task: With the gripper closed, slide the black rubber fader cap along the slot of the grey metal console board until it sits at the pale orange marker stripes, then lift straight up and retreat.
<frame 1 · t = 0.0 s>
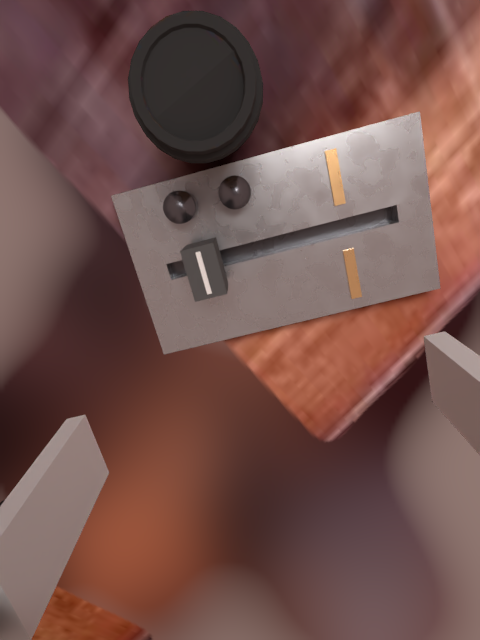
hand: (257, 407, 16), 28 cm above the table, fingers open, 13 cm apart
coffee cup: (211, 123, 39), on the table
console: (278, 240, 42), on the table
fader: (207, 265, 38), point 5 cm above the table, slide at -7.0 cm
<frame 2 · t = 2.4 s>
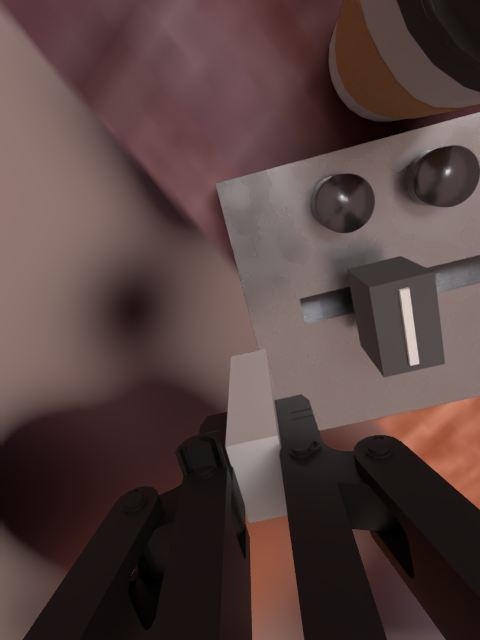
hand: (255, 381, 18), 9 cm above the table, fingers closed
coffee cup: (385, 58, 22), on the table
console: (473, 257, 26), on the table
fader: (383, 305, 22), point 5 cm above the table, slide at -7.0 cm
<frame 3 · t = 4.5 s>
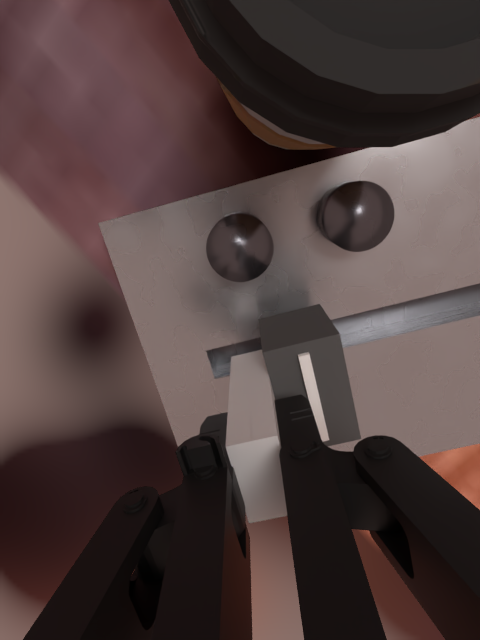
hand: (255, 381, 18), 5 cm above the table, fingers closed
coffee cup: (295, 78, 20), on the table
console: (410, 298, 23), on the table
fader: (301, 361, 19), point 5 cm above the table, slide at -6.6 cm, touching gripper
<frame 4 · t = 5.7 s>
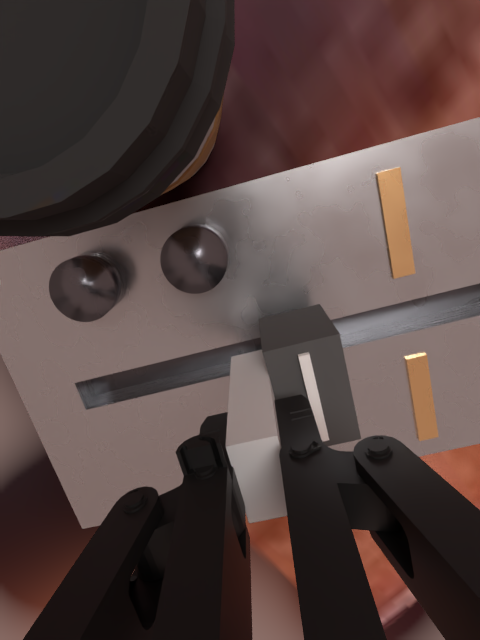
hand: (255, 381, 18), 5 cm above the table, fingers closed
coffee cup: (153, 120, 20), on the table
console: (283, 329, 23), on the table
fader: (301, 361, 19), point 5 cm above the table, slide at 0.4 cm, touching gripper
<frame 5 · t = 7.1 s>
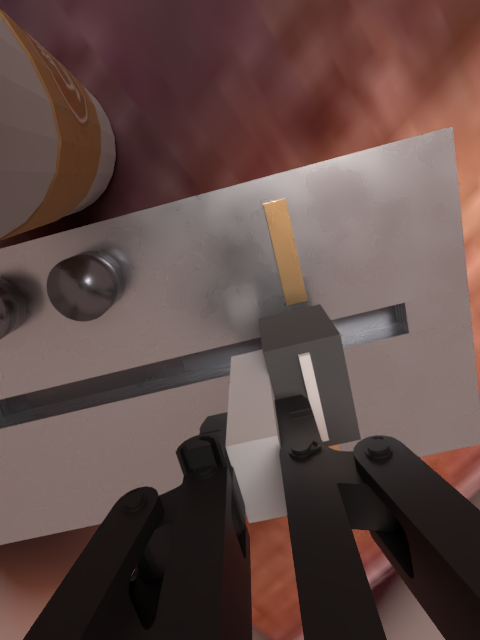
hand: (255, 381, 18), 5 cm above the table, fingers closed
coffee cup: (55, 147, 21), on the table
console: (194, 351, 24), on the table
fader: (301, 361, 19), point 5 cm above the table, slide at 5.5 cm, touching gripper
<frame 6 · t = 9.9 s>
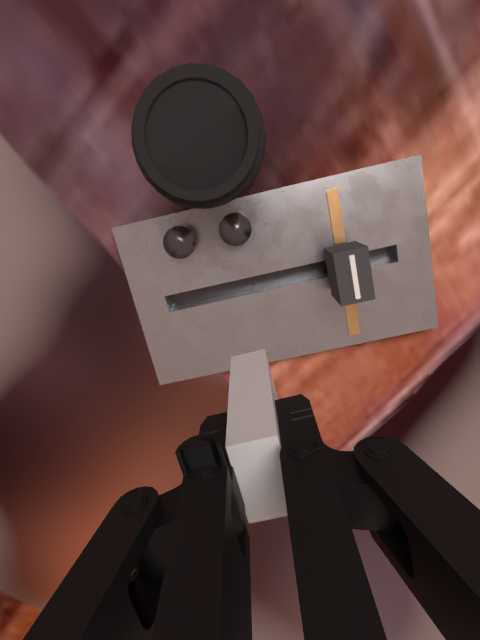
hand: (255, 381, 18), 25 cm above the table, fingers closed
coffee cup: (213, 158, 39), on the table
console: (277, 274, 42), on the table
fader: (344, 269, 37), point 5 cm above the table, slide at 5.6 cm
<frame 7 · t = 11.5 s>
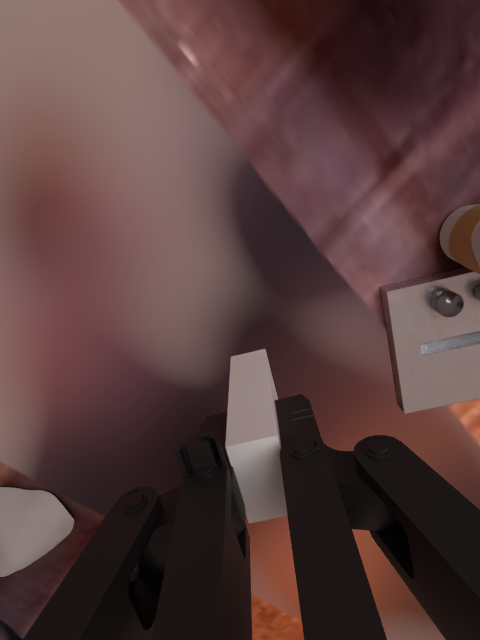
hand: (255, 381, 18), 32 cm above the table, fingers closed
coffee cup: (464, 233, 48), on the table
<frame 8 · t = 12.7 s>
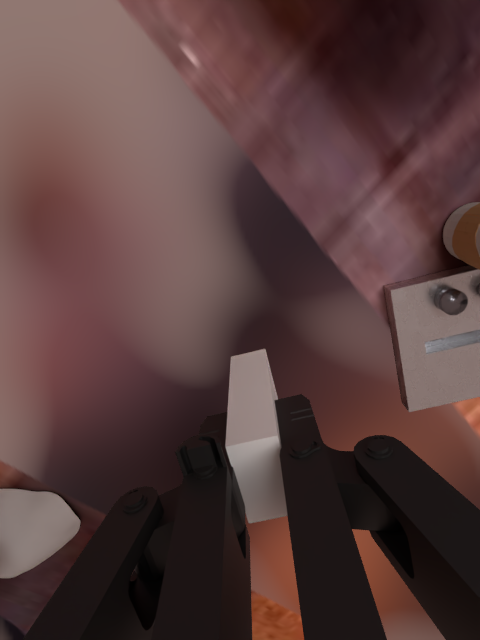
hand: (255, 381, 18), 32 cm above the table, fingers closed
coffee cup: (467, 231, 48), on the table
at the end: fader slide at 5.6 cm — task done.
